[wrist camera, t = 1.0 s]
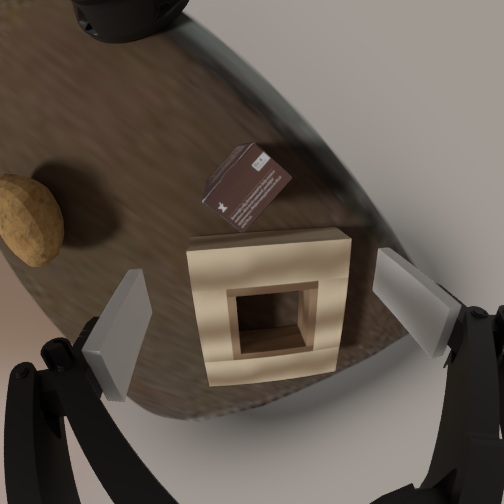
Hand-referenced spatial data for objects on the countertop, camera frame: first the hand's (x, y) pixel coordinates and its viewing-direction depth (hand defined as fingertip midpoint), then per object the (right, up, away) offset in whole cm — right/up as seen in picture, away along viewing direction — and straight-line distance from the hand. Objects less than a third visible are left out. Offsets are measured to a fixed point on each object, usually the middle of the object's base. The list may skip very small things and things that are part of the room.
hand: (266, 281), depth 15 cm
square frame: (+1, -5, +23) cm, 24 cm away
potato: (-29, +7, +15) cm, 34 cm away
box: (-2, +10, +17) cm, 20 cm away
